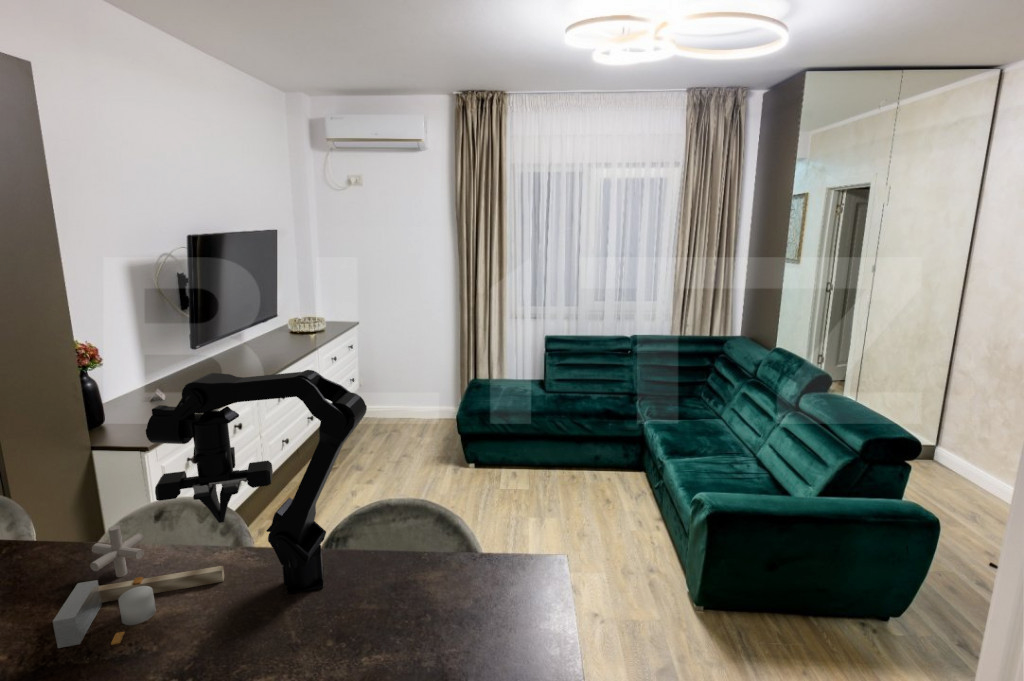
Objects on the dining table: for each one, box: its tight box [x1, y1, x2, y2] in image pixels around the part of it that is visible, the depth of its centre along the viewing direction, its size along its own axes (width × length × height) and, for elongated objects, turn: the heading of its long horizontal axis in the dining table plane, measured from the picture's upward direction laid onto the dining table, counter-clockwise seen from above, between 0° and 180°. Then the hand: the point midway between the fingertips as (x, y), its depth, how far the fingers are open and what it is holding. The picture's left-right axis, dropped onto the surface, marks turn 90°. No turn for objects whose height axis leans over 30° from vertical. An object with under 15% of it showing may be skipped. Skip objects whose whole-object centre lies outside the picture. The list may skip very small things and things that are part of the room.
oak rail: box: [99, 565, 225, 603], centre depth 105 cm, size 22×2×3 cm, turn 108°
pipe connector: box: [89, 524, 145, 578], centre depth 109 cm, size 10×10×10 cm
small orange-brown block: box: [110, 631, 125, 646], centre depth 94 cm, size 1×2×1 cm, turn 18°
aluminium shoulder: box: [52, 579, 103, 649], centre depth 96 cm, size 3×10×5 cm, turn 18°
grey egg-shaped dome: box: [117, 586, 157, 626], centre depth 99 cm, size 5×5×4 cm
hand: (221, 521), depth 107 cm, fingers closed
